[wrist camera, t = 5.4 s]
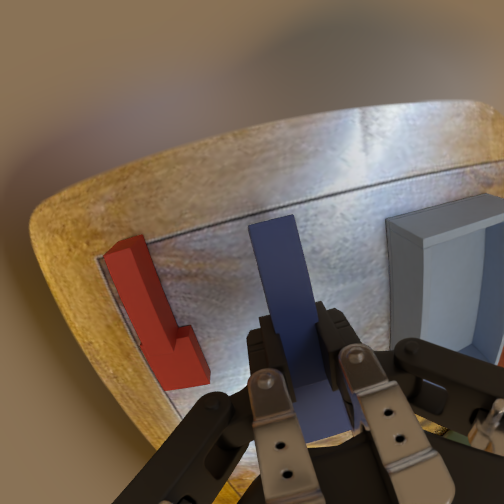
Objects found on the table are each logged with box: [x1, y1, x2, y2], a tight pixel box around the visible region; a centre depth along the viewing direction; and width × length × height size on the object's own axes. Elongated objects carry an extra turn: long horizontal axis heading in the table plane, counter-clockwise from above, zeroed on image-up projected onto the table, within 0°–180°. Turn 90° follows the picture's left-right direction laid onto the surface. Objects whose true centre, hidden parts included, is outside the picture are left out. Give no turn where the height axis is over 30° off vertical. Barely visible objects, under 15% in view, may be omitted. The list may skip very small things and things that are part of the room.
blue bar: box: [248, 214, 351, 443], centre depth 13 cm, size 11×4×3 cm, turn 14°
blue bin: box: [386, 193, 504, 390], centre depth 19 cm, size 15×10×4 cm
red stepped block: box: [103, 234, 211, 391], centre depth 18 cm, size 11×4×3 cm, turn 14°
